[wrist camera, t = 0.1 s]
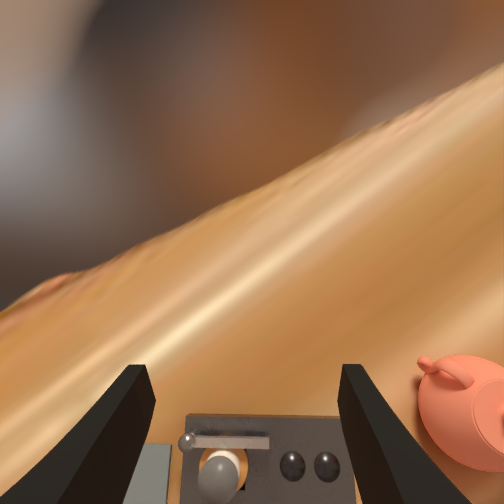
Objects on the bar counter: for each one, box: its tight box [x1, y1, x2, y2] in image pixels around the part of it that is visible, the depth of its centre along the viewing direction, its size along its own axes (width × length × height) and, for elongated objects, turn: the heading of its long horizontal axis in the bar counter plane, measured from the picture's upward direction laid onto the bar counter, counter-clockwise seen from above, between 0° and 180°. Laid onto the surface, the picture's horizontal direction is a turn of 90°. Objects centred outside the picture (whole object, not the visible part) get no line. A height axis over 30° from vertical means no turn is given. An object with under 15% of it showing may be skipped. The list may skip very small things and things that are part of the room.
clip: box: [178, 431, 269, 453], centre depth 35 cm, size 2×10×3 cm, turn 89°
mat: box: [123, 444, 172, 504], centre depth 37 cm, size 9×8×1 cm
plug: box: [198, 448, 248, 504], centre depth 34 cm, size 6×6×8 cm
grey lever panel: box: [180, 414, 356, 504], centre depth 37 cm, size 10×20×2 cm, turn 89°
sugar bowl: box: [417, 355, 504, 472], centre depth 34 cm, size 12×14×10 cm
